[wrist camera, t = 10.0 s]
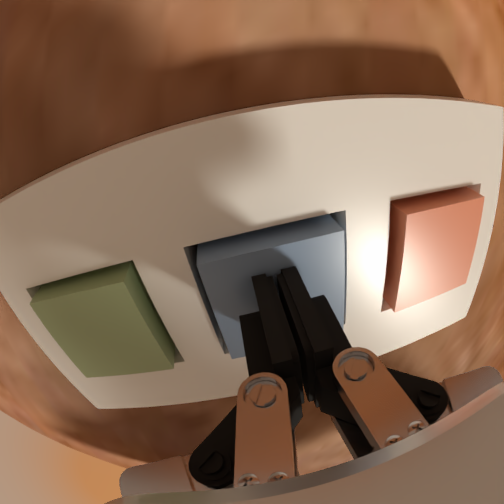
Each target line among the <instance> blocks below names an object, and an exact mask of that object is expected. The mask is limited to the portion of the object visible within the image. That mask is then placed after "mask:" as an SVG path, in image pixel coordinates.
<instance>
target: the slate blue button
mask: <svg viewBox="0 0 504 504" xmlns="http://www.w3.org/2000/svg"><path fill="white" fill-rule="evenodd" d="M293 266H296V268H297V270H298V272H299V274H300V276H301V278H302V280H303V282H304V284H305V286H306V288H307V291H308V293H309V295H310V297H311V298H313V297H316V296H320V295H324V296H325V297H326V298H327V300H328V302H329V304H330V306H331V308H332V310H333V312H334V313H335V315H336V317H337V319H338V321H339V323H340V325H341V327H342V329H343V325H344V297H345V241H344V230H343V229H342V227H341V226H340V225H339V224H338V223H337V222H336V221H335V220H334V219H333V218H332V217H331V216H330V215H329V214H325V215H320V216H316V217H311V218H307V219H302V220H298V221H293V222H289V223H284V224H280V225H275V226H271V227H267V228H262V229H258V230H254V231H249V232H245V233H241V234H237V235H232V236H228V237H224V238H220V239H215V240H211V241H207V242H203V243H199V244H198V246H197V268H198V271H199V274H200V277H201V279H202V282H203V285H204V288H205V290H206V293H207V296H208V299H209V301H210V304H211V307H212V309H213V312H214V315H215V317H216V320H217V323H218V325H219V328H220V330H221V333H222V336H223V338H224V341H225V343H226V346H227V348H228V351H229V353H230V356H231V358H232V359H236V358H241V357H245V351H244V345H243V338H242V332H241V326H240V320H239V316H240V315H244V314H249V313H253V312H257V311H259V308H258V304H257V299H256V295H255V291H254V287H253V282H252V278H251V277H252V276H256V275H260V274H264V273H265V274H266V276H267V277H268V276H272V277H273V280H274V283H275V286H276V288H277V291H278V294H279V289H278V283H277V277H276V275H277V274H281V269H285V268H289V267H293ZM279 297H280V295H279Z"/></svg>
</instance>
